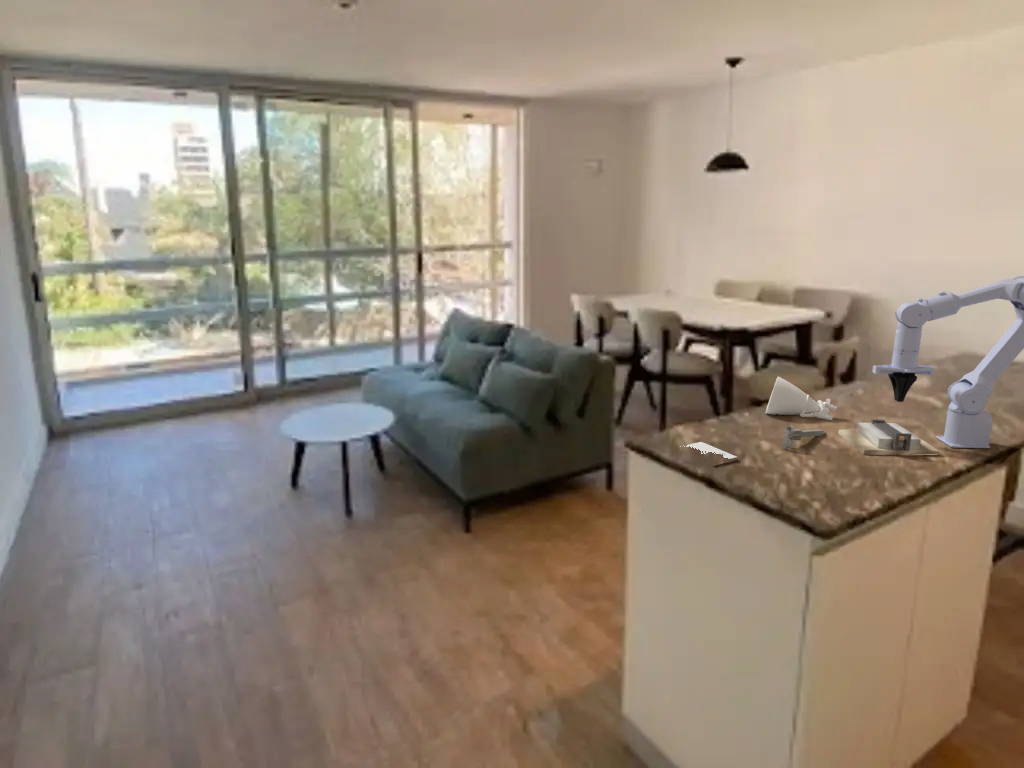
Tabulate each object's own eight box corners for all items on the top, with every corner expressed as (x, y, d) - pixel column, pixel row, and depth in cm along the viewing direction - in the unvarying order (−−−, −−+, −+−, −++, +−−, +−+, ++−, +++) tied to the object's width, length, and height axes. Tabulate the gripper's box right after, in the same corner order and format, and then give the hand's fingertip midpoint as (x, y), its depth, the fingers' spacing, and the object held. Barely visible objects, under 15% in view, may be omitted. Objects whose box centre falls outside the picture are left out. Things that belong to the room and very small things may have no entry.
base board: (907, 434, 186) (910, 414, 185) (938, 455, 171) (942, 434, 169) (838, 433, 188) (840, 413, 186) (863, 454, 172) (866, 433, 171)
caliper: (786, 451, 176) (788, 427, 174) (782, 450, 176) (784, 426, 175) (825, 434, 188) (828, 412, 186) (821, 433, 189) (824, 411, 187)
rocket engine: (845, 387, 198) (780, 368, 203) (836, 420, 192) (770, 400, 198) (833, 408, 207) (772, 389, 213) (825, 440, 202) (762, 420, 208)
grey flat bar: (884, 424, 183) (885, 421, 183) (908, 439, 171) (908, 437, 171) (873, 424, 183) (873, 421, 183) (895, 439, 171) (895, 437, 171)
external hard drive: (701, 447, 180) (738, 462, 169) (677, 452, 176) (713, 468, 165) (702, 441, 179) (738, 456, 169) (677, 446, 175) (713, 462, 165)
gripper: (883, 352, 174) (876, 404, 177) (944, 353, 173) (935, 405, 176) (871, 347, 181) (865, 397, 184) (929, 347, 180) (921, 397, 183)
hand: (898, 400), depth 181 cm, fingers closed
